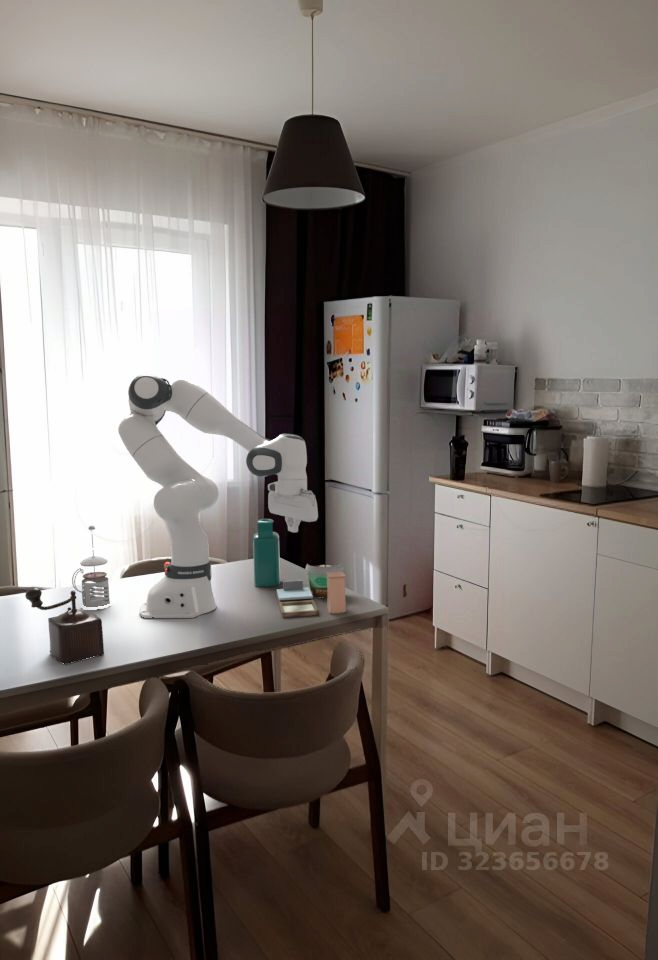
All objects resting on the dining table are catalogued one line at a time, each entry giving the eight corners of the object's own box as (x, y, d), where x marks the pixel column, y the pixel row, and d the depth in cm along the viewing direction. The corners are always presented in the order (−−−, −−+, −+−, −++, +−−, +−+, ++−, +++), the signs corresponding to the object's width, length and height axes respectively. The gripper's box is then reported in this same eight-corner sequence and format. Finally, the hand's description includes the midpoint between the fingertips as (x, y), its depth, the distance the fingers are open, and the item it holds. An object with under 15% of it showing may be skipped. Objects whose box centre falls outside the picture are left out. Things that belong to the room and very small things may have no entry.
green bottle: (255, 580, 250) (253, 517, 247) (280, 579, 251) (278, 516, 248) (254, 588, 241) (251, 522, 238) (279, 587, 241) (278, 521, 238)
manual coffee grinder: (88, 643, 193) (84, 576, 190) (105, 654, 184) (101, 585, 182) (27, 657, 183) (22, 587, 181) (42, 670, 175) (36, 597, 172)
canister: (329, 613, 213) (328, 576, 212) (327, 608, 218) (326, 572, 216) (346, 612, 214) (345, 575, 212) (343, 607, 219) (342, 571, 217)
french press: (118, 605, 225) (113, 525, 221) (81, 614, 217) (75, 531, 214) (105, 598, 232) (100, 521, 229) (69, 606, 225) (63, 526, 222)
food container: (306, 599, 227) (305, 568, 226) (305, 594, 233) (305, 563, 232) (345, 598, 228) (345, 567, 226) (344, 593, 234) (344, 562, 232)
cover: (279, 600, 221) (278, 589, 221) (276, 591, 231) (276, 580, 230) (312, 598, 223) (312, 587, 222) (308, 589, 232) (308, 578, 232)
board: (282, 617, 210) (282, 612, 210) (276, 596, 231) (276, 592, 231) (318, 615, 212) (318, 610, 212) (309, 594, 233) (309, 590, 232)
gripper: (322, 490, 218) (322, 535, 220) (280, 482, 233) (281, 524, 235) (306, 492, 214) (306, 539, 216) (264, 484, 229) (265, 527, 231)
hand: (293, 531), depth 226 cm, fingers closed
